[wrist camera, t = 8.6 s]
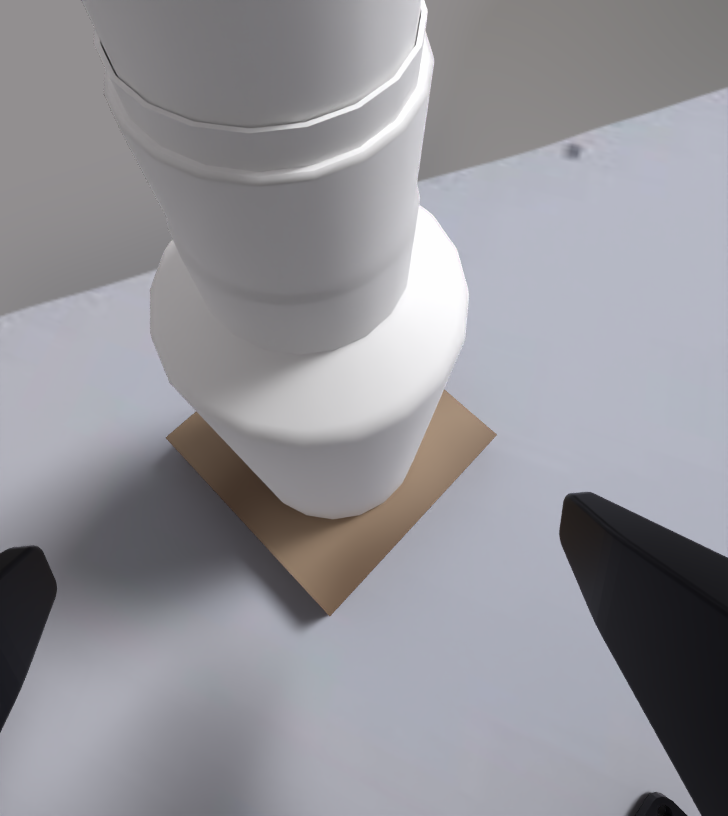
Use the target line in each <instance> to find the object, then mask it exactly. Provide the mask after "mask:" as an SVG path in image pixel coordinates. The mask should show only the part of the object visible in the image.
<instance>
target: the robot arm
mask: <svg viewBox="0 0 728 816" xmlns="http://www.w3.org/2000/svg"><path fill="white" fill-rule="evenodd" d="M559 535H560V541H561V545H562V547H563V550H564V552H565V554H566V557H567V559H568V561H569V564H570V566H571V568H572V571H573V573H574V575H575V578H576V580H577V583H578V585H579V587H580V590H581V592H582V594H583V597H584V599H585V601H586V604H587V606H588V608H589V611H590V613H591V615H592V617H593V619H594V622H595V624H596V626H597V628H598V630H599V632H600V633H601V635H602V637H603V639H604V641H605V643H606V644H607V646H608V648H609V650H610V652H611V653H612V655H613V657H614V659H615V661H616V662H617V664H618V666H619V668H620V670H621V671H622V673H623V675H624V677H625V679H626V680H627V682H628V684H629V686H630V688H631V689H632V691H633V693H634V695H635V697H636V699H637V700H638V702H639V704H640V706H641V708H642V709H643V711H644V713H645V715H646V717H647V718H648V720H649V722H650V724H651V726H652V727H653V729H654V731H655V733H656V735H657V736H658V738H659V740H660V742H661V744H662V745H663V747H664V749H665V751H666V753H667V754H668V756H669V758H670V760H671V762H672V763H673V765H674V767H675V769H676V771H677V772H678V774H679V776H680V778H681V780H682V781H683V783H684V785H685V787H686V789H687V790H688V792H689V794H690V796H691V798H692V799H693V801H694V803H695V805H696V807H697V808H698V810H699V812H700V814H701V816H728V558H727V557H725V556H723V555H721V554H719V553H717V552H715V551H713V550H711V549H709V548H706V547H704V546H702V545H700V544H698V543H696V542H694V541H692V540H690V539H688V538H686V537H684V536H681V535H679V534H677V533H675V532H673V531H671V530H669V529H667V528H665V527H663V526H661V525H659V524H656V523H654V522H652V521H650V520H648V519H646V518H644V517H642V516H640V515H638V514H636V513H634V512H631V511H629V510H627V509H625V508H623V507H621V506H619V505H617V504H615V503H613V502H611V501H609V500H606V499H604V498H602V497H600V496H598V495H596V494H594V493H592V492H580V493H570V494H568V495H567V496H566V497H565V499H564V502H563V508H562V516H561V523H560V530H559ZM56 592H57V585H56V580H55V578H54V576H53V573H52V571H51V569H50V567H49V564H48V562H47V560H46V557H45V555H44V553H43V551H42V550H41V549H40V548H39V547H38V546H34V545H32V546H21V547H13V548H9V549H7V550H5V551H3V552H2V553H0V732H1V730H2V728H3V726H4V724H5V722H6V720H7V718H8V715H9V713H10V711H11V709H12V707H13V705H14V703H15V701H16V699H17V696H18V694H19V692H20V690H21V688H22V685H23V683H24V680H25V678H26V675H27V673H28V670H29V667H30V665H31V662H32V659H33V657H34V654H35V651H36V648H37V646H38V643H39V640H40V638H41V635H42V632H43V630H44V627H45V624H46V621H47V619H48V616H49V613H50V611H51V608H52V605H53V602H54V600H55V597H56ZM661 805H665V808H666V812H665V815H664V816H687V815H686V814H685V813H684V812H683V811H682V810H681V809H680V808H679V807H678V806H677V805H676V804H675V803H674V802H673V801H672V800H670V799H669V798H667V797H666V796H664V795H663V794H662V793H658V792H654V793H651V794H650V795H649V796H648V797H647V798H646V799H645V801H644V803H643V804H642V806H641V807H640V809H639V811H638V812H637V814H636V815H635V816H659V815H658V809H659V807H660V806H661Z"/></svg>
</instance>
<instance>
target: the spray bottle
mask: <svg viewBox="0 0 728 816" xmlns="http://www.w3.org/2000/svg"><path fill="white" fill-rule="evenodd" d="M81 1H82V3H83V5H84V7H85V9H86V11H87V13H88V15H89V17H90V20H91V22H92V23H93V26H94V46H95V48H96V50H97V52H98V54H99V57H100V58H101V61H102V63H103V65H104V67H105V73H104V74H105V76H104V96H105V98H106V100H107V102H108V105H109V107H110V109H111V111H112V114H113V116H114V118H115V120H116V122H117V124H118V127H119V129H120V131H121V133H122V135H123V137H124V138H125V140H126V142H127V144H128V146H129V148H130V150H131V152H132V153H133V155H134V157H135V159H136V161H137V163H138V165H139V167H140V169H141V171H142V173H143V174H144V176H145V178H146V180H147V182H148V184H149V186H150V188H151V189H152V191H153V193H154V195H155V197H156V199H157V201H158V203H159V205H160V207H161V208H162V210H163V212H164V214H165V216H166V218H167V228H168V230H169V233H170V235H171V237H172V240H171V242H170V243H169V244H168V246H167V247H166V248H165V250H164V252H163V255H162V258H161V261H160V264H159V266H158V269H157V272H156V274H155V277H154V280H153V283H152V285H151V288H150V333H151V337H152V341H153V343H154V346H155V348H156V351H157V353H158V355H159V358H160V360H161V363H162V365H163V368H164V370H165V373H166V375H167V377H168V380H169V382H170V384H171V385H172V386H173V387H174V388H175V389H176V390H177V391H178V392H179V393H180V394H181V396H182V397H183V398H184V399H185V400H186V401H187V402H188V403H189V404H190V405H191V406H192V407H193V408H194V409H195V410H196V411H197V413H198V414H199V415H200V416H201V417H202V418H203V419H204V420H205V421H206V422H207V423H208V424H209V425H210V426H211V427H212V428H213V429H214V431H215V432H216V433H217V434H218V435H219V436H220V437H221V438H222V439H223V440H224V441H225V442H226V443H227V444H228V445H229V446H230V447H231V448H232V450H233V451H234V452H235V453H236V454H237V455H238V456H239V457H240V458H241V459H242V460H243V461H244V462H245V463H246V464H247V465H248V466H249V468H250V469H251V470H252V471H253V472H254V473H255V474H256V475H257V476H258V477H259V478H260V479H261V480H262V481H263V482H264V483H265V484H266V485H267V487H268V488H269V489H270V490H271V491H272V492H273V493H274V494H275V495H276V496H277V497H278V498H279V499H280V500H281V501H282V502H283V503H284V504H286V505H288V506H290V507H292V508H294V509H296V510H297V511H299V512H301V513H303V514H305V515H308V516H314V517H321V518H327V519H339V518H345V517H351V516H357V515H361V514H363V513H365V512H367V511H369V510H371V509H373V508H374V507H376V506H378V505H380V504H382V503H384V502H385V501H386V500H387V499H388V498H389V497H390V496H391V495H392V494H393V493H394V492H395V491H396V490H397V489H398V488H399V486H400V485H401V484H402V483H403V481H404V479H405V477H406V475H407V473H408V471H409V468H410V466H411V464H412V462H413V460H414V458H415V455H416V453H417V451H418V448H419V446H420V444H421V442H422V439H423V437H424V435H425V432H426V430H427V428H428V425H429V423H430V421H431V418H432V416H433V414H434V411H435V409H436V407H437V404H438V402H439V400H440V398H441V395H442V393H443V391H444V388H445V386H446V384H447V381H448V379H449V377H450V374H451V372H452V370H453V367H454V365H455V363H456V361H457V358H458V356H459V354H460V351H461V349H462V347H463V344H464V342H465V334H466V323H467V313H468V302H469V292H468V287H467V283H466V280H465V276H464V273H463V269H462V265H461V262H460V258H459V254H458V251H457V249H456V247H455V246H454V244H453V243H452V242H451V240H450V239H449V237H448V236H447V234H446V233H445V232H444V230H443V229H442V227H441V226H440V224H439V223H438V222H437V220H436V219H435V217H434V216H433V215H432V214H431V213H429V212H428V211H427V210H425V209H424V208H423V207H422V206H420V205H419V202H420V194H419V190H418V186H417V179H418V172H419V165H420V158H421V151H422V144H423V137H424V130H425V123H426V116H427V109H428V102H429V95H430V88H431V81H432V73H433V66H434V57H433V54H432V50H431V47H430V44H429V41H428V38H427V34H426V31H425V29H426V21H427V12H428V11H427V8H426V5H425V1H424V0H81Z"/></svg>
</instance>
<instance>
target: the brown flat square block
mask: <svg viewBox="0 0 728 816" xmlns="http://www.w3.org/2000/svg"><path fill="white" fill-rule="evenodd" d="M496 435H497V434H496V433H494V432H493V431H492V430H491V429H490V428H489V427H487V426H486V425H485V424H484V423H483V422H482V421H480V420H479V419H478V418H477V417H476V416H475V415H473V414H472V413H471V412H470V411H469V410H468V409H466V408H465V407H464V406H463V405H462V404H461V403H459V402H458V401H457V400H456V399H455V398H454V397H453V396H451V395H450V394H449V393H448V392H447V391H446V390H444V391H443V393H442V395H441V398H440V400H439V402H438V404H437V407H436V409H435V411H434V414H433V416H432V418H431V421H430V423H429V425H428V428H427V430H426V432H425V435H424V437H423V439H422V442H421V444H420V446H419V448H418V451H417V453H416V455H415V458H414V460H413V462H412V464H411V466H410V468H409V471H408V473H407V475H406V477H405V479H404V481H403V483H402V484H401V485H400V486H399V488H398V489H397V490H396V491H395V492H394V493H393V494H392V495H391V496H390V497H389V498H388V499H387V500H386V501H385V502H384V503H382V504H380V505H378V506H376V507H374V508H373V509H371V510H369V511H367V512H365V513H363V514H361V515H357V516H351V517H345V518H339V519H327V518H321V517H314V516H308V515H305V514H303V513H301V512H299V511H297V510H296V509H294V508H292V507H290V506H288V505H286V504H284V503H283V502H282V501H281V500H280V499H279V498H278V497H277V496H276V495H275V494H274V493H273V492H272V491H271V490H270V489H269V488H268V487H267V485H266V484H265V483H264V482H263V481H262V480H261V479H260V478H259V477H258V476H257V475H256V474H255V473H254V472H253V471H252V470H251V469H250V468H249V466H248V465H247V464H246V463H245V462H244V461H243V460H242V459H241V458H240V457H239V456H238V455H237V454H236V453H235V452H234V451H233V450H232V448H231V447H230V446H229V445H228V444H227V443H226V442H225V441H224V440H223V439H222V438H221V437H220V436H219V435H218V434H217V433H216V432H215V431H214V429H213V428H212V427H211V426H210V425H209V424H208V423H207V422H206V421H205V420H204V419H203V418H202V417H201V416H200V415H199V414H198V413H197V411H196V412H195V413H194V414H193V415H191V416H190V417H189V418H188V419H187V420H186V421H184V422H183V423H182V424H181V425H180V426H179V427H177V428H176V429H175V430H174V431H173V432H172V433H170V434H169V435H168V436H167V437H166V439H167V440H168V441H169V442H170V443H171V444H172V445H173V446H174V448H175V449H176V450H177V451H178V452H179V453H180V454H181V455H182V456H183V457H184V458H185V459H186V461H187V462H188V463H189V464H190V465H191V466H192V467H193V468H194V469H195V470H196V471H197V473H198V474H199V475H200V476H201V477H202V478H203V479H204V480H205V481H206V482H207V483H208V484H209V486H210V487H211V488H212V489H213V490H214V491H215V492H216V493H217V494H218V495H219V496H220V498H221V499H222V500H223V501H224V502H225V503H226V504H227V505H228V506H229V507H230V508H231V510H232V511H233V512H234V513H235V514H236V515H237V516H238V517H239V518H240V519H241V520H242V521H243V523H244V524H245V525H246V526H247V527H248V528H249V529H250V530H251V531H252V532H253V533H254V535H255V536H256V537H257V538H258V539H259V540H260V541H261V542H262V543H263V544H264V545H265V547H266V548H267V549H268V550H269V551H270V552H271V553H272V554H273V555H274V556H275V557H276V558H277V560H278V561H279V562H280V563H281V564H282V565H283V566H284V567H285V568H286V569H287V570H288V572H289V573H290V574H291V575H292V576H293V577H294V578H295V579H296V580H297V581H298V582H299V584H300V585H301V586H302V587H303V588H304V589H305V590H306V591H307V592H308V593H309V594H310V595H311V597H312V598H313V599H314V600H315V601H316V602H317V603H318V604H319V605H320V606H321V607H322V609H323V610H324V611H325V612H326V613H327V614H328V615H329V616H331V615H332V614H333V612H334V611H335V610H336V609H337V608H338V607H339V606H340V605H341V604H342V603H343V602H344V600H345V599H346V598H347V597H348V596H349V595H350V594H351V593H352V592H353V591H354V590H355V589H356V587H357V586H358V585H359V584H360V583H361V582H362V581H363V580H364V579H365V578H366V577H367V575H368V574H369V573H370V572H371V571H372V570H373V569H374V568H375V567H376V566H377V565H378V564H379V562H380V561H381V560H382V559H383V558H384V557H385V556H386V555H387V554H388V553H389V552H390V551H391V549H392V548H393V547H394V546H395V545H396V544H397V543H398V542H399V541H400V540H401V539H402V537H403V536H404V535H405V534H406V533H407V532H408V531H409V530H410V529H411V528H412V527H413V526H414V524H415V523H416V522H417V521H418V520H419V519H420V518H421V517H422V516H423V515H424V514H425V512H426V511H427V510H428V509H429V508H430V507H431V506H432V505H433V504H434V503H435V502H436V501H437V499H438V498H439V497H440V496H441V495H442V494H443V493H444V492H445V491H446V490H447V489H448V487H449V486H450V485H451V484H452V483H453V482H454V481H455V480H456V479H457V478H458V477H459V476H460V474H461V473H462V472H463V471H464V470H465V469H466V468H467V467H468V466H469V465H470V464H471V463H472V461H473V460H474V459H475V458H476V457H477V456H478V455H479V454H480V453H481V452H482V451H483V449H484V448H485V447H486V446H487V445H488V444H489V443H490V442H491V441H492V440H493V439H494V437H495V436H496Z"/></svg>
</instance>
